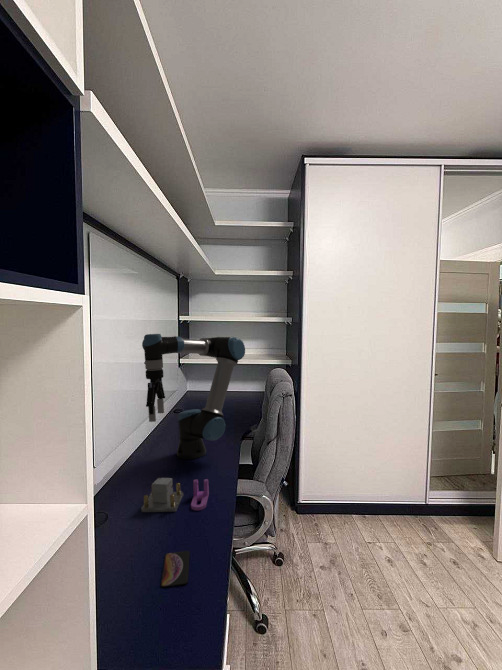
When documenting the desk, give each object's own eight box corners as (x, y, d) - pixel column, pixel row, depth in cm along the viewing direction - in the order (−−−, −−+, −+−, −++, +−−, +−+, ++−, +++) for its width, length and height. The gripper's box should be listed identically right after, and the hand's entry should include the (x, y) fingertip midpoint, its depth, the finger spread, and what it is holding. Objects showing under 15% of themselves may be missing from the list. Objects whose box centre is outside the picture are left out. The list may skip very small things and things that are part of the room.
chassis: (151, 495, 158) (150, 482, 157) (183, 495, 157) (182, 481, 157) (141, 512, 145) (140, 497, 144) (175, 511, 144) (175, 497, 144)
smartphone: (159, 587, 103) (165, 553, 118) (159, 590, 104) (165, 555, 118) (187, 583, 104) (189, 549, 119) (188, 586, 104) (189, 552, 119)
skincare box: (167, 503, 147) (166, 484, 147) (152, 502, 149) (151, 483, 148) (173, 496, 153) (172, 477, 153) (159, 495, 155) (158, 477, 154)
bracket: (195, 494, 157) (194, 478, 157) (209, 494, 157) (208, 477, 157) (190, 511, 144) (189, 492, 144) (204, 510, 144) (204, 492, 144)
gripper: (153, 365, 182) (156, 410, 183) (136, 374, 157) (139, 425, 158) (169, 365, 182) (172, 409, 183) (154, 373, 157) (157, 425, 158)
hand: (156, 417), depth 170 cm, fingers open, 13 cm apart
